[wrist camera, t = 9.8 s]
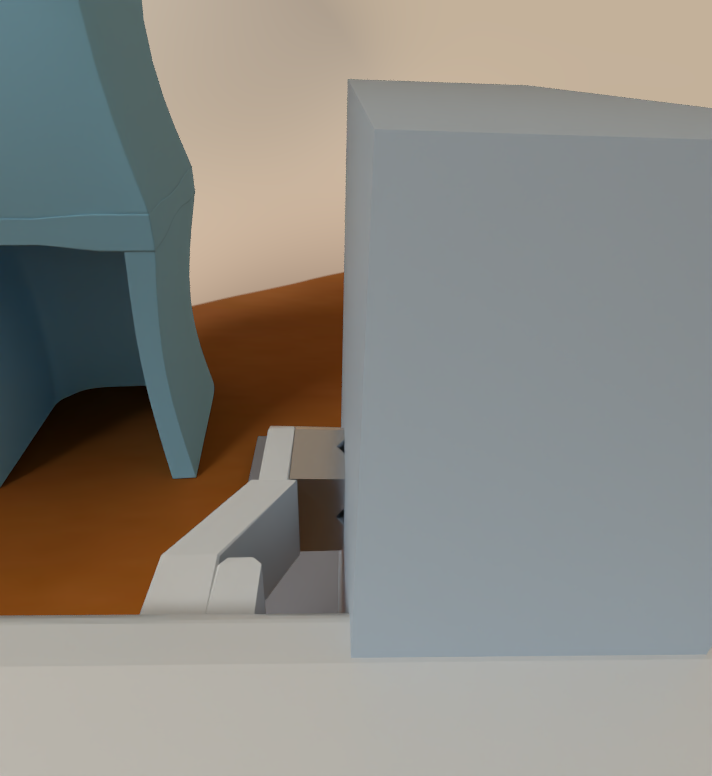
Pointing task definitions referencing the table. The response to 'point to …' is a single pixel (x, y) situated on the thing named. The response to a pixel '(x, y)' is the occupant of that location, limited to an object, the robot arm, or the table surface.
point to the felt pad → (302, 572)
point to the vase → (93, 226)
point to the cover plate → (526, 373)
